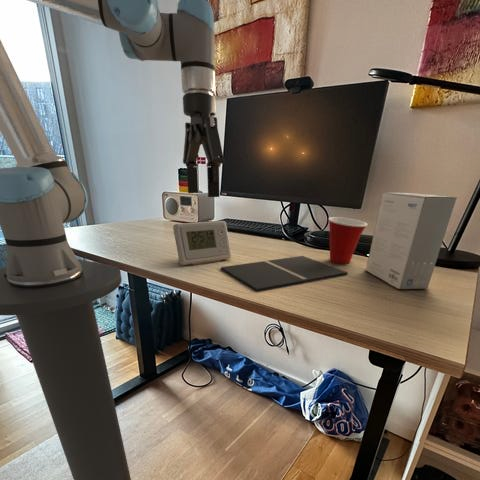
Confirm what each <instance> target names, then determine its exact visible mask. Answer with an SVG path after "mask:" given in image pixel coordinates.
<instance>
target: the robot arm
mask: <svg viewBox="0 0 480 480" xmlns="http://www.w3.org/2000/svg"><path fill="white" fill-rule="evenodd" d="M27 1H28V2H31V3H34V4H37V5H40V6H42V7H46V8H49V9H52V10H55V11H58V12H60V13H64V14H66V15H70V16H72V17H76V18H79V19H81V20H84V21H87V22H91V23H94V24H97V25H99V26H102V27H105V28H106V29H107V28H108V29H110V30H113V31H116V32H118V37H119V41H120V45H121V48H122V52H123V53H124V55H125V56H126V57H127V58H128V59H130V60H137V61H140V62H145V61H153V62H154V61H158V62H159V61H160V62H180V78H181V79H180V82H181V91H182V93H183V96H182V108H183V109H182V111H183V114H184V116H187V117H189V118H190V122H185V123H184V129H185V131H184V132H185V133H184V145H183V157H182V163H183V164H184V165H185V167H186V176H187V194H199V178H198V177H199V176H198V167H199V165H198V163H197V161H198V156H199V152H200V149H201V146H202V149H203V152H204V155H205V158H206V160H207V162H206V164H205V165H206V173H207V174H206V175H207V197H208V198H220V167H221V165H222V164H225V157H224V153H223V148H222V143H221V139H220V138H221V137H220V133H219V128H218V118H217V116H216V113H217V111H216V110H217V107H216V105H217V104H216V97H215V96H214V95H215V94H216V84H217V80H216V58H215V57H216V56H215V55H216V54H215V53H216V52H215V51H216V50H215V47H216V46H215V45H216V43H215V42H216V41H215V20H214V10H213V7H212V5H211V3H210V2H208V1H207V0H179V1H178V2H177V8H176V12H172V13H171V12H169V13H167V12H161V11H160V9H159V3H158V0H27ZM0 134H1V136H2V137H3V139H4V141H5V143H6V144H7V147H8V148H9V150H10V152H11V155H12V156H13V158H14V160H15V162H16V165H15V166H13V167H2V168H0V229H1V233H2V235H3V238H4V241H5V245H6V249H7V255H6V267H7V268H6V274H5V275H4V277H5V278H7V279H8V282H9V284H10V285H11V286H14V287H18V288H44V287H51V286H57V285H62V284H65V283H69V282H72V281H74V280H76V279H78V278H80V277H81V276H82V275H83V270H82V267H81V264H80V262H79V261H78V259H79V258H78V257H77V256H76V254H75V253H74V251H73V249H72V247H71V246H70V244H69V241H68V239H67V238H68V237H67V235H66V234H67V233H66V230H65V225H64V224H66V223H70V222H74V221H77V219H79V218H80V217H81V216H82V215H84V213H85V212H86V210H87V207H88V203H89V197H88V192H87V189H86V187H85V185H84V184H83V183H82V182H81V181H80V179H79V178H77V177H76V176H74V175H73V174H72V171H71V169H70V167H69V166H68V163H67V161H66V160H65V158H63V157H61V156H59V155H57V154H56V153H55V151H54V149H53V147H52V145H51V142H50V140H49V138H48V136H47V133H46V132H45V130H44V128H43V125H42V123H41V121H40V120H39V118H38V115H37V113H36V111H35V109H34V107H33V105H32V102H31V101H30V98H29V97H28V94H27V92H26V90H25V88H24V86H23V84H22V82H21V80H20V78H19V76H18V73H17V71H16V69H15V68H14V65H13V63H12V61H11V59H10V57H9V55H8V53H7V51H6V48H5V46H4V44H3V42H2V40H1V39H0Z"/></svg>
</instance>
